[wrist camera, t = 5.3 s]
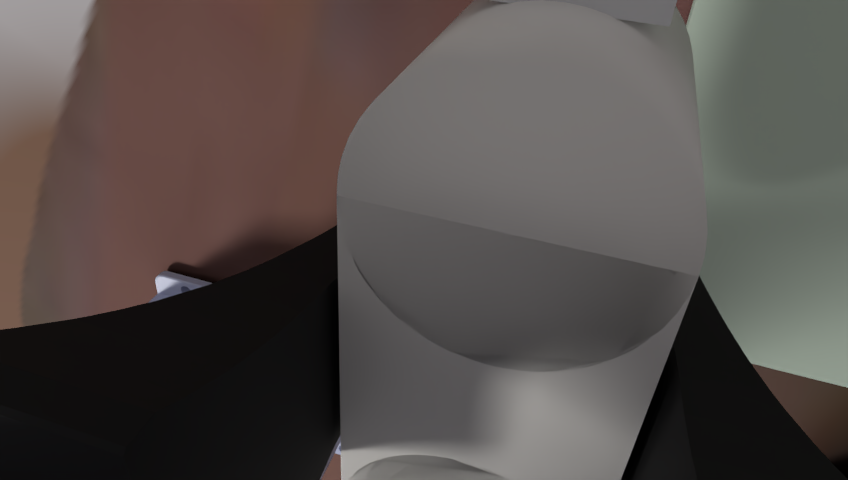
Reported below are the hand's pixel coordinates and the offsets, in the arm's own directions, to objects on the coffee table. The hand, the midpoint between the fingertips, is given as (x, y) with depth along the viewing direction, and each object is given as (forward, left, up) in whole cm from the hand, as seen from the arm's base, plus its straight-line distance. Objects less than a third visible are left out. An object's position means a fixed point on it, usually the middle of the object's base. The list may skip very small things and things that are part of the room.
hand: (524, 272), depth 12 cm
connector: (0, +1, -1) cm, 2 cm away
